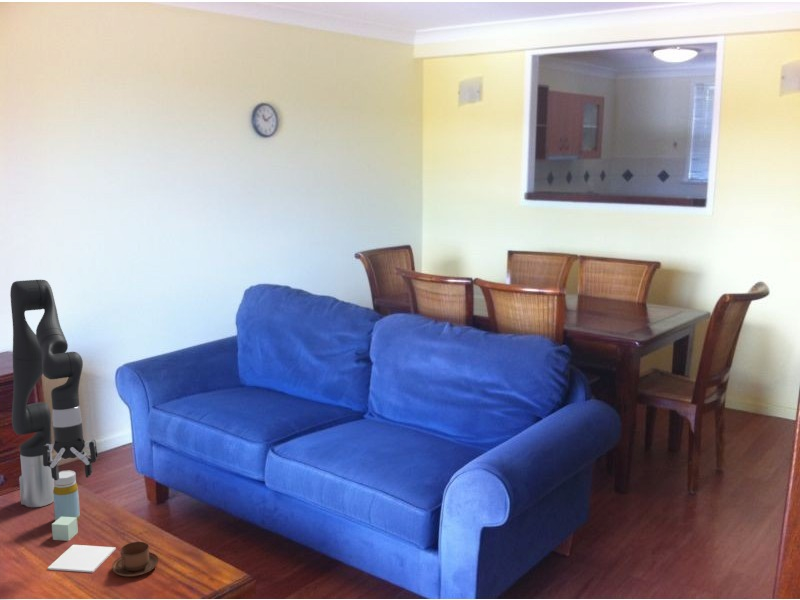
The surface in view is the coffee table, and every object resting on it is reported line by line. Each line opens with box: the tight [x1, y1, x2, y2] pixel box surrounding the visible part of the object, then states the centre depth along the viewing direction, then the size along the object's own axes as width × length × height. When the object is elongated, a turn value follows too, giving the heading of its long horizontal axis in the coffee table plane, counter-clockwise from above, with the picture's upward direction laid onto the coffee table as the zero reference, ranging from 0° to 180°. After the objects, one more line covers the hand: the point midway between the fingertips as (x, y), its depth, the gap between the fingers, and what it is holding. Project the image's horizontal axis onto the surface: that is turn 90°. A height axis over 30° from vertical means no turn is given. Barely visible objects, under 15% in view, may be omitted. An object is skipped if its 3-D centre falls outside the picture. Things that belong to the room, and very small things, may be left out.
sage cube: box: [51, 517, 79, 542], centre depth 225 cm, size 5×5×5 cm
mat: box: [47, 544, 117, 574], centre depth 212 cm, size 13×13×1 cm
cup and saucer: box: [111, 541, 159, 578], centre depth 207 cm, size 12×12×6 cm
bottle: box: [53, 470, 81, 521], centre depth 234 cm, size 7×7×15 cm
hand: (72, 478), depth 216 cm, fingers open, 8 cm apart
